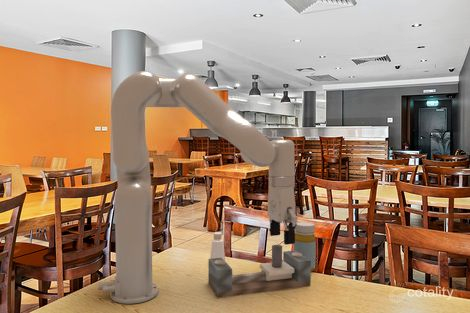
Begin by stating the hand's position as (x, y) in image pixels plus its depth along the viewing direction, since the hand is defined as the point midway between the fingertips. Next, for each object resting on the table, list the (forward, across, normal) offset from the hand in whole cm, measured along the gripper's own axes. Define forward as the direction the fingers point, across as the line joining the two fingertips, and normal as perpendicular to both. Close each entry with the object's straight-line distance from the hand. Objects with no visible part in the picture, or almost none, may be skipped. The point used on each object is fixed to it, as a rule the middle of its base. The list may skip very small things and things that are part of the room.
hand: (282, 239), depth 112 cm
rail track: (+13, 0, -7) cm, 15 cm away
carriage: (+11, 0, -2) cm, 11 cm away
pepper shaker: (+13, -20, -14) cm, 28 cm away
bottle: (+13, -8, +12) cm, 19 cm away
